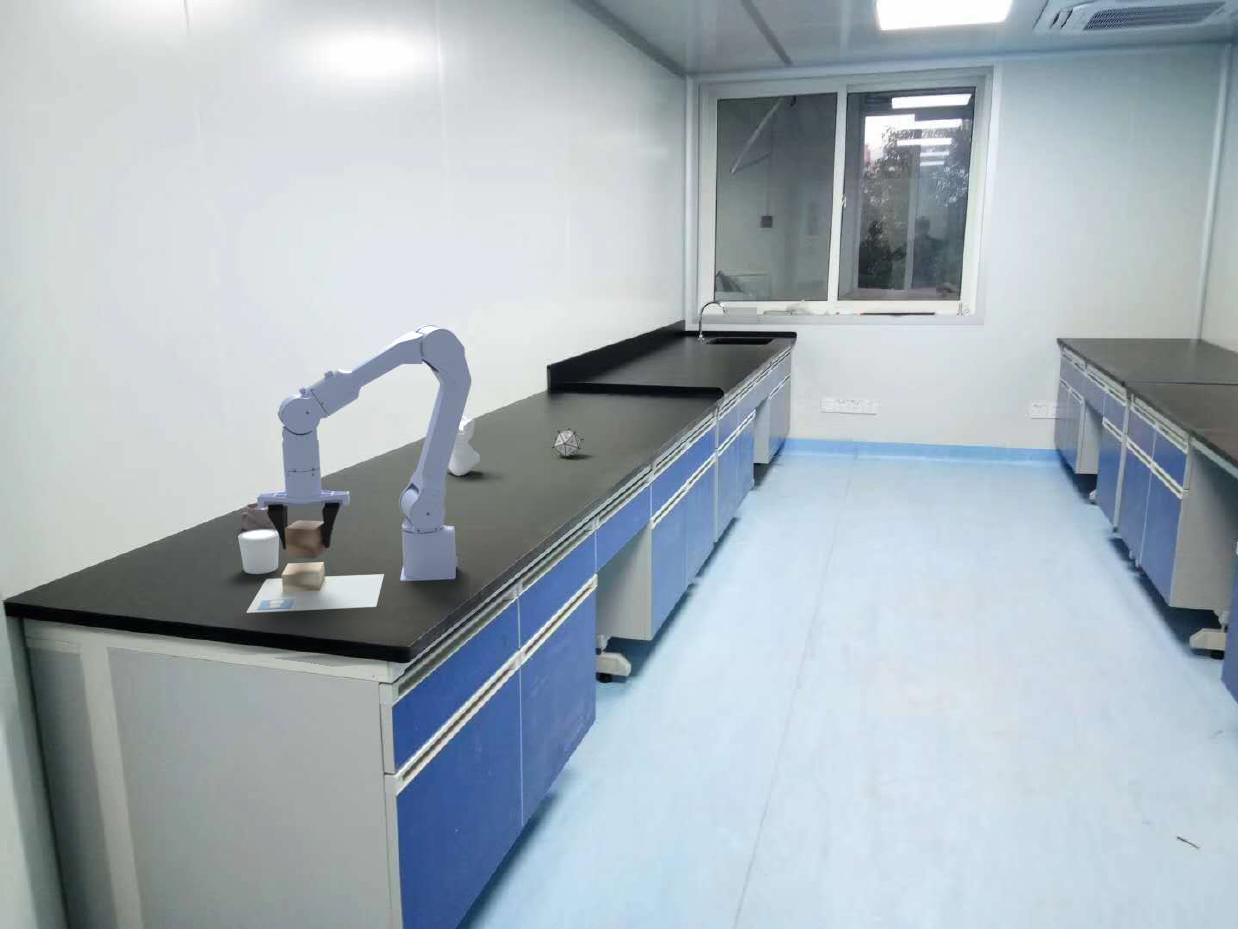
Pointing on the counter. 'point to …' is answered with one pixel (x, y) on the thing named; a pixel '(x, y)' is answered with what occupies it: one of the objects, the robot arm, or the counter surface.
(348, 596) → the plate
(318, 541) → the walnut block
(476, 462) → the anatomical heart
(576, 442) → the game die
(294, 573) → the maple base block
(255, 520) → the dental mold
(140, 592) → the counter surface
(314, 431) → the robot arm
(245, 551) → the white tapered cup
